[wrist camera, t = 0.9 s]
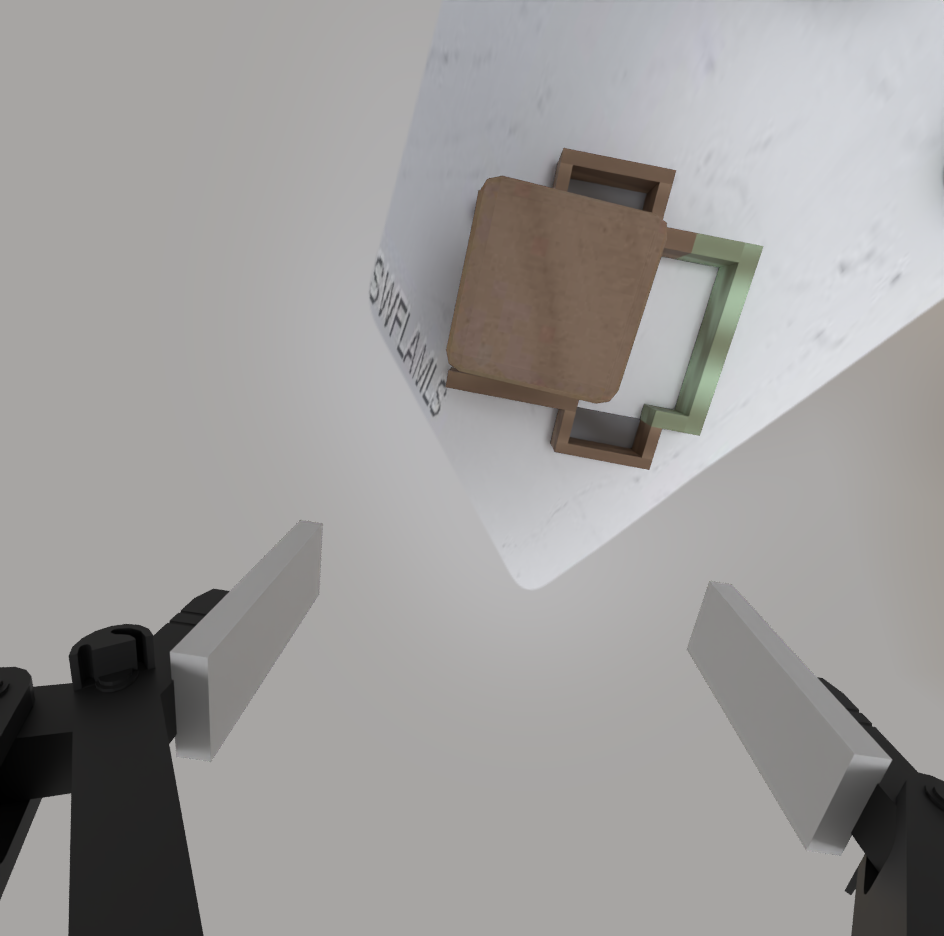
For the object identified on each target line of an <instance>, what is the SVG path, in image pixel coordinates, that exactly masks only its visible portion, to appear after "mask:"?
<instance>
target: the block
mask: <svg viewBox="0 0 944 936" xmlns="http://www.w3.org/2000/svg"><path fill="white" fill-rule="evenodd" d="M666 229H667V223H666V222H665V221H663V220H662V219H661V218H659V217H658V216H657V215H656V214H655V213H651V212H647V211H643V210H639V209H635V208H630V207H626V206H622V205H618V204H614V203H610V202H606V201H602V200H598V199H594V198H590V197H586V196H582V195H578V194H574V193H570V192H566V191H562V190H558V189H554V188H550V187H546V186H542V185H538V184H534V183H530V182H526V181H522V180H518V179H513V178H509V177H505V176H499V177H494V178H489V179H487V180H486V182H485V183H484V185H483V187H482V188H481V190H480V191H479V193H478V198H477V203H476V208H475V213H474V218H473V223H472V227H471V232H470V237H469V242H468V247H467V252H466V257H465V261H464V266H463V271H462V276H461V281H460V286H459V290H458V295H457V300H456V305H455V310H454V315H453V320H452V324H451V329H450V334H449V339H448V344H447V349H446V351H447V356H448V362H449V364H450V365H452V366H453V367H455V368H456V369H457V370H459V371H460V372H465V373H469V374H473V375H477V376H482V377H486V378H490V379H494V380H499V381H503V382H507V383H511V384H515V385H520V386H524V387H528V388H532V389H537V390H541V391H545V392H549V393H554V394H558V395H562V396H566V397H570V398H575V399H579V400H583V401H587V402H592V403H603V402H609V401H610V400H611V399H612V398H613V397H614V395H615V394H616V393H617V392H618V390H619V387H620V384H621V381H622V378H623V374H624V371H625V368H626V365H627V362H628V359H629V356H630V353H631V349H632V346H633V343H634V340H635V337H636V334H637V331H638V328H639V325H640V321H641V318H642V315H643V312H644V309H645V306H646V303H647V300H648V296H649V293H650V290H651V287H652V284H653V281H654V278H655V275H656V271H657V268H658V265H659V262H660V259H661V256H662V253H663V250H664V246H665V243H666V240H667V232H666Z"/></svg>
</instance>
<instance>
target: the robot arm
mask: <svg viewBox="0 0 944 936" xmlns="http://www.w3.org/2000/svg"><path fill="white" fill-rule="evenodd" d="M322 526H323V524H322V523H316V522H310V521H302V520H300V521H299V522H298V523H297V524H296V525H295V526H294V527H293V528H292V529H291V530H290V531H289V532H288V533H287V534H286V535H285V536H284V537H283V538H282V539H281V540H280V541H279V542H278V543H277V544H276V545H275V546H274V547H273V548H272V549H271V550H270V551H269V552H268V553H267V554H266V555H265V556H264V557H263V558H262V559H261V560H260V561H259V562H258V563H257V564H256V565H255V566H254V567H253V568H252V569H251V571H249V572H248V573H247V574H246V576H245V577H243V578H242V579H241V581H240V582H239V583H238V584H237V585H236V586H235V587H234V588H233V589H232V590H231V591H225V590H218V589H212V590H210V591H208V592H206V593H204V594H202V595H200V596H198V597H196V598H194V599H193V600H192V601H191V602H190V603H189V604H187V605H186V606H185V607H184V608H183V609H182V610H181V612H180V613H178V614H177V615H175V616H174V617H173V618H172V619H171V620H170V623H167V624H166V625H165V626H164V627H162V628H161V629H160V630H159V631H158V632H157V633H156V634H155V635H154V636H153V634H152V633H151V632H150V630H149V629H148V628H145V627H143V626H141V625H132V624H123V625H116V626H110V627H107V628H104V629H101V630H98V631H95V632H93V633H91V634H89V635H87V636H86V637H84V638H82V639H81V640H80V641H79V642H77V643H76V644H75V645H74V646H73V647H72V649H71V652H70V654H69V661H70V669H71V676H72V682H73V683H70V684H59V685H48V686H37V687H33V684H32V678H31V675H30V674H29V673H28V672H27V670H24V669H21V668H17V667H2V668H1V667H0V899H1V897H2V894H3V891H4V889H5V887H6V884H7V882H8V880H9V877H10V875H11V872H12V870H13V867H14V865H15V863H16V860H17V858H18V855H19V853H20V850H21V848H22V845H23V843H24V840H25V838H26V836H27V833H28V831H29V828H30V826H31V823H32V821H33V819H34V816H35V814H36V811H37V809H38V806H39V804H40V802H41V799H42V798H43V797H50V796H55V795H62V794H69V793H71V840H70V887H69V888H70V889H69V934H68V936H203V931H202V925H201V919H200V914H199V909H198V903H197V897H196V891H195V886H194V880H193V875H192V869H191V864H190V858H189V852H188V847H187V841H186V836H185V830H184V825H183V820H182V813H181V808H180V802H179V797H178V792H177V786H176V780H175V775H174V769H173V764H172V758H171V752H170V747H169V743H170V742H171V741H172V740H173V738H174V737H175V743H176V756H177V757H183V758H189V759H196V760H203V761H209V762H211V761H212V759H213V758H214V756H215V755H216V753H217V752H218V750H219V749H220V747H221V746H222V744H223V742H224V741H225V739H226V738H227V736H228V735H229V733H230V732H231V730H232V729H233V727H234V725H235V724H236V722H237V721H238V719H239V718H240V716H241V714H242V713H243V712H244V710H245V708H246V707H247V705H248V704H249V702H250V701H251V699H252V698H253V696H254V694H255V693H256V691H257V690H258V688H259V687H260V685H261V684H262V682H263V680H264V679H265V677H266V676H267V674H268V673H269V671H270V670H271V668H272V667H273V665H274V664H275V662H276V660H277V659H278V657H279V656H280V654H281V653H282V651H283V650H284V648H285V646H286V645H287V643H288V642H289V640H290V639H291V637H292V636H293V634H294V633H295V631H296V629H297V628H298V626H299V625H300V623H301V622H302V620H303V619H304V617H305V615H306V614H307V612H308V611H309V609H310V608H311V606H312V605H313V603H314V602H315V600H316V598H317V597H318V595H319V587H320V567H321V548H322ZM687 650H688V652H689V654H690V655H691V657H692V659H693V661H694V662H695V664H696V665H697V667H698V669H699V671H700V672H701V674H702V676H703V677H704V679H705V681H706V682H707V684H708V685H709V688H710V689H711V691H712V693H713V694H714V696H715V698H716V699H717V701H718V703H719V704H720V706H721V708H722V709H723V711H724V713H725V714H726V716H727V718H728V719H729V721H730V723H731V725H732V726H733V728H734V730H735V731H736V733H737V735H738V736H739V738H740V740H741V742H742V743H743V745H744V746H745V748H746V750H747V751H748V753H749V755H750V757H751V758H752V760H753V762H754V763H755V765H756V767H757V768H758V770H759V772H760V774H761V775H762V777H763V779H764V780H765V782H766V783H767V785H768V787H769V789H770V790H771V792H772V794H773V795H774V797H775V799H776V801H777V802H778V804H779V806H780V807H781V809H782V811H783V812H784V814H785V816H786V817H787V819H788V821H789V822H790V824H791V826H792V827H793V829H794V831H795V833H796V834H797V836H798V838H799V839H800V841H801V843H802V844H803V846H804V848H805V849H806V851H812V852H819V853H825V854H832V855H839V856H841V855H842V853H843V851H844V849H845V847H846V845H847V843H848V842H849V840H850V838H851V836H852V835H853V837H854V838H855V840H856V841H857V843H858V844H859V845H860V847H861V848H862V850H863V851H864V853H865V855H864V857H863V859H862V861H861V862H860V864H859V866H858V868H857V869H856V871H855V873H854V875H853V877H852V878H851V880H850V882H849V884H848V886H847V888H846V889H845V891H846V892H847V893H849V894H850V895H852V893H853V892H854V890H855V889H856V895H855V905H854V915H853V925H852V935H851V936H944V781H942V780H940V779H937V778H935V777H933V776H930V775H926V774H922V773H918V772H917V771H916V770H915V769H914V768H913V767H912V766H911V764H910V763H909V762H908V761H907V760H906V759H905V758H904V757H903V756H902V755H901V754H900V753H899V752H898V751H897V750H896V749H895V748H894V746H893V745H892V744H891V743H890V742H889V741H888V740H887V739H886V738H885V737H884V736H883V735H882V734H881V733H880V732H879V731H878V730H877V728H876V727H872V723H871V722H870V721H869V720H868V719H867V718H866V717H865V716H864V715H863V714H862V713H859V709H858V708H857V707H856V706H855V705H854V704H853V703H852V702H851V701H850V700H849V699H848V698H847V697H846V696H845V695H844V694H843V693H842V692H841V691H839V690H838V689H837V688H835V687H834V686H832V685H831V684H830V683H828V682H827V681H826V680H824V679H823V678H818V677H816V676H815V675H814V673H813V672H812V671H811V670H810V669H809V668H808V667H807V666H806V665H805V664H804V663H803V661H802V660H801V659H800V658H799V657H798V656H797V655H796V654H795V653H794V652H793V651H792V650H791V648H790V647H789V646H788V645H787V644H786V643H785V642H784V641H783V640H782V638H780V636H779V635H778V634H777V633H776V632H775V631H774V630H773V629H772V628H771V627H770V626H769V624H768V623H767V622H766V621H765V620H764V619H763V618H762V617H761V616H760V615H759V613H758V612H757V611H756V610H755V609H754V608H753V607H752V606H751V605H750V603H749V602H748V601H747V600H746V599H745V598H744V597H743V596H742V595H741V594H740V593H739V591H738V590H737V589H736V588H735V587H734V586H733V585H732V584H727V583H720V582H713V581H709V584H708V587H707V590H706V592H705V596H704V599H703V602H702V605H701V608H700V611H699V614H698V617H697V620H696V623H695V626H694V629H693V632H692V635H691V638H690V641H689V644H688V647H687Z"/></svg>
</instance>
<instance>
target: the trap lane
mask: <svg viewBox="0 0 944 936" xmlns="http://www.w3.org/2000/svg"><path fill="white" fill-rule="evenodd" d="M675 173H676V170H672V169H667V168H662V167H657V166H652V165H647V164H641V163H636V162H631V161H626V160H621V159H616V158H611V157H606V156H601V155H596V154H591V153H586V152H581V151H576V150H571V149H566V148H563V151H562V153H561V156H560V158H559V161H558V163H557V168H556V173H555V178H554V183H553V188H554V189H558V190H562V191H566V192H570V193H574V194H578V195H582V196H586V197H590V198H594V199H598V200H602V201H606V202H610V203H614V204H618V205H622V206H626V207H630V208H635V209H639V210H643V211H647V212H651V213H655V214H656V215H657V216H658V217H659V218H661V219H662V220H663V217H664V213H665V209H666V206H667V202H668V199H669V195H670V191H671V188H672V184H673V180H674V177H675ZM479 191H480V190H478V193H479ZM477 198H478V196H477ZM476 203H477V202H476ZM666 232H667V240H666V243H665V246H664V250H663V253H662V256H663V257H668V258H673V259H678V260H683V261H688V262H693V263H698V264H703V265H708V266H713V267H719V270H718V273H717V276H716V279H715V283H714V286H713V289H712V292H711V295H710V298H709V302H708V305H707V308H706V311H705V314H704V318H703V321H702V324H701V327H700V330H699V333H698V337H697V340H696V343H695V346H694V349H693V352H692V356H691V359H690V362H689V365H688V368H687V372H686V375H685V378H684V381H683V384H682V387H681V391H680V394H679V397H678V400H677V403H676V406H675V410H672V409H666V408H661V407H656V406H651V405H646V404H644V406H643V410H642V413H641V417H640V419H636V418H631V417H626V416H620V415H615V414H610V413H605V412H599V411H594V410H589V409H584V408H579V407H577V405H578V401H579V399H575V398H570V397H566V396H562V395H558V394H554V393H549V392H545V391H541V390H537V389H532V388H528V387H524V386H520V385H515V384H511V383H507V382H503V381H499V380H494V379H490V378H486V377H482V376H477V375H473V374H469V373H465V372H460V371H459V370H457V369H456V368H453V367H451V368H450V369H449V370H448V376H447V382H446V387H448V388H453V389H458V390H463V391H468V392H474V393H479V394H484V395H489V396H495V397H500V398H505V399H510V400H515V401H521V402H526V403H531V404H536V405H542V406H547V407H552V408H557V409H558V413H557V417H556V421H555V425H554V430H553V434H552V438H551V442H550V443H551V445H552V447H553V449H554V451H555V452H558V453H563V454H568V455H574V456H579V457H584V458H589V459H595V460H600V461H605V462H610V463H616V464H621V465H626V466H632V467H637V468H642V469H647V470H649V469H650V466H651V463H652V459H653V456H654V453H655V450H656V447H657V443H658V440H659V437H660V434H661V430H662V429H667V430H672V431H677V432H683V433H688V434H693V435H698V436H700V433H701V430H702V427H703V424H704V421H705V419H706V416H707V413H708V410H709V407H710V404H711V401H712V398H713V395H714V392H715V389H716V386H717V383H718V380H719V377H720V374H721V371H722V368H723V365H724V362H725V359H726V356H727V353H728V350H729V347H730V344H731V341H732V338H733V335H734V332H735V329H736V326H737V323H738V320H739V317H740V315H741V312H742V309H743V306H744V303H745V300H746V297H747V294H748V291H749V288H750V285H751V282H752V279H753V276H754V273H755V270H756V267H757V264H758V261H759V258H760V255H761V252H762V249H763V246H759V245H754V244H749V243H744V242H739V241H734V240H729V239H724V238H719V237H714V236H709V235H704V234H699V233H694V232H688V231H683V230H678V229H673V228H668V227H667V229H666Z"/></svg>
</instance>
